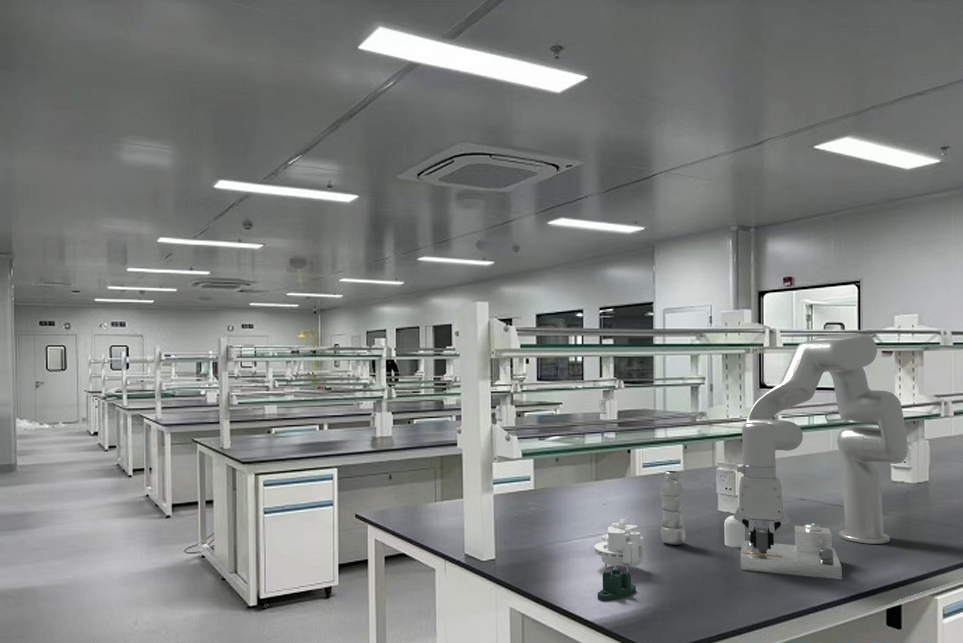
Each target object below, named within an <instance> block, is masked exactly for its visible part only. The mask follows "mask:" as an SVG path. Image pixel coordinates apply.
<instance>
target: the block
mask: <svg viewBox="0 0 963 643" xmlns="http://www.w3.org/2000/svg"><path fill="white" fill-rule="evenodd" d="M755 530H756V549H758V553H761V554H766V553H767V550H768V534H767V531H768V525H763V524H755Z"/></svg>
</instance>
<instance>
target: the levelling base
mask: <svg viewBox="0 0 963 643" xmlns="http://www.w3.org/2000/svg"><path fill="white" fill-rule="evenodd" d="M746 534H747V536H746V537H747V540H745V541H742V545H741V547H740V570H741V571H752V572H760V573H761V572H762V573H771V574H774V573H775V574H783V575H791V576H801V577H812V578H822V579H823V578H824V579H832V580H843V571H842V570H843V569H842V568H843V567H842V564H841V562H840V560H839V557H838V555H837V552H836V550H835V548H833V544H832V543H833V542H832V532H831V529H830V528H828V527H821V525H819V524H817V523H815V522H813V523H805V524H804V525H802V526H801V525H794V543H795V544H786V543H785V544H784V543H775V542H774V545H771V549H768V550H767V553H766V554H761V553H758V549H756V548H754V547H753V543H750V531H747V533H746Z"/></svg>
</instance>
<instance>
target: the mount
mask: <svg viewBox="0 0 963 643" xmlns="http://www.w3.org/2000/svg"><path fill="white" fill-rule="evenodd" d="M631 575H632V574H631V573H630V572H629V571H624V572H623V571H622V572H621V569H619V568H616V569H614V568H613V569H612V570H611V571H609V570H607V571H604V572H602V589H600V590H599V591H598V592H597V600H598V601H601V602H608V601H617V600H621V599H625V598H628V597H632V596H633V595H634V594H635V593H636V592H637V586H636V585H635V584H633V583H632V577H631Z"/></svg>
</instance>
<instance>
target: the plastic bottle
mask: <svg viewBox="0 0 963 643" xmlns="http://www.w3.org/2000/svg"><path fill="white" fill-rule="evenodd" d="M664 479H665V481H664V482H663V484H662V485H661V487H660V489H659V491H660V492H659V493H660V499H661V503H662V504H661V505H662V506H661V508H662V521H661V522H662V523H661V530H660V537H661V541H662V542H663V543H665V544H669V545H671V546H674V545H682V544H684V543H685V540H686V536H687V535H686V529H685V527H684V526H685V524H684V515H683V514H684V513H683V511H684V500H685V499H684V498H685V489H684V487H683V486H682V484H681V483H680V481H679V479H680V476H679V471H676V470H665V471H664Z"/></svg>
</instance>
